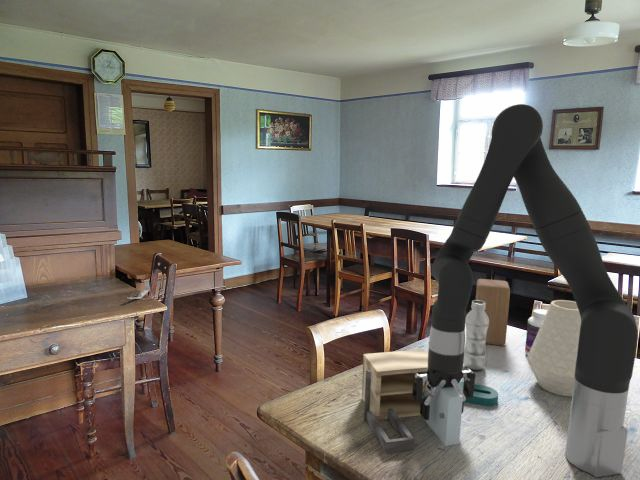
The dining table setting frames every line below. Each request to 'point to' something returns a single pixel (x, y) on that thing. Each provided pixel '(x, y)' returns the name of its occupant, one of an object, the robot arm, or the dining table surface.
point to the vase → (557, 348)
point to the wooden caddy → (392, 393)
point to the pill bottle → (534, 327)
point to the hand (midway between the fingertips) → (441, 416)
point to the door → (446, 415)
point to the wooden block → (495, 308)
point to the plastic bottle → (476, 336)
